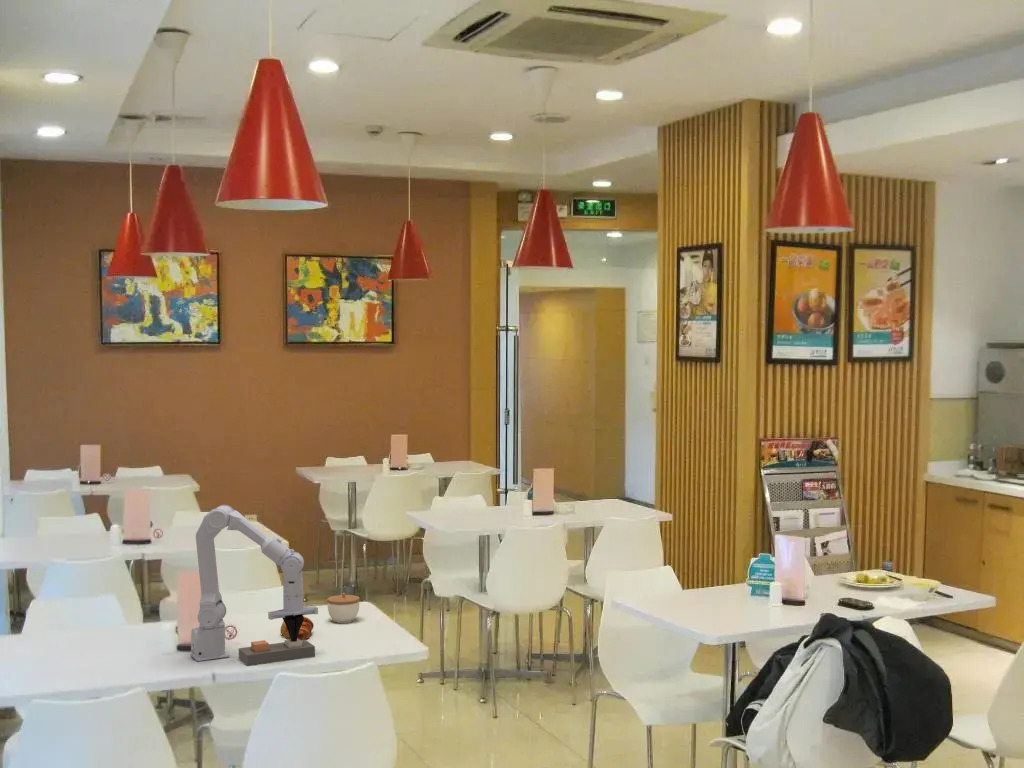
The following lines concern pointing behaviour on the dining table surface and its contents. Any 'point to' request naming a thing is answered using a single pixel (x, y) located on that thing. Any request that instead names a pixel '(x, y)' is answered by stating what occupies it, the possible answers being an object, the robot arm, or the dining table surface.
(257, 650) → the terracotta key
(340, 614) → the lidded jar
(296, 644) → the beige key
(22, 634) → the dining table surface
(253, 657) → the key block
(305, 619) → the croissant
